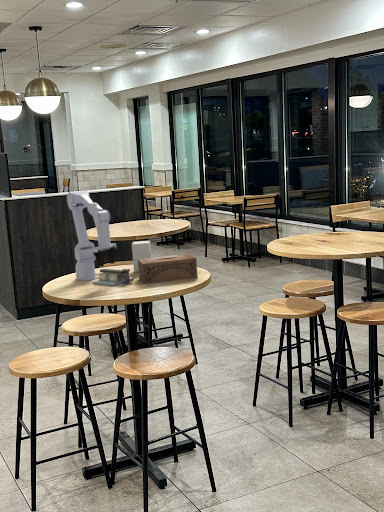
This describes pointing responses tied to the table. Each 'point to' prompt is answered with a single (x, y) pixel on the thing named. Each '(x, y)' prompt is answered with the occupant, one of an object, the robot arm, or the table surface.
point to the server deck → (110, 283)
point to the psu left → (104, 276)
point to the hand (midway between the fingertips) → (106, 264)
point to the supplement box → (140, 252)
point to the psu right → (116, 277)
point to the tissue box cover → (167, 268)
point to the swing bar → (114, 271)
